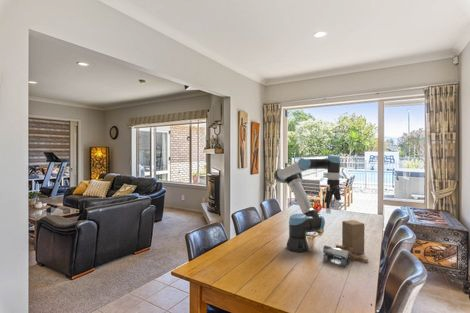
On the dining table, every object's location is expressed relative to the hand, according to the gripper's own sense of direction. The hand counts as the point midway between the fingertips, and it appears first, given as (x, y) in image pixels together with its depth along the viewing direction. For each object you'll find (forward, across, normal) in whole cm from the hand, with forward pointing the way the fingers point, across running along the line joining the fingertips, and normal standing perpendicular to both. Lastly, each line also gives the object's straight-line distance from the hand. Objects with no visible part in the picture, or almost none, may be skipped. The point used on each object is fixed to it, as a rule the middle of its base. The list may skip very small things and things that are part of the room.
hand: (332, 211), depth 172 cm
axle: (+25, -9, -6) cm, 27 cm away
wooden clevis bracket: (+29, +4, -10) cm, 31 cm away
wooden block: (+29, +16, -8) cm, 34 cm away
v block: (+29, -8, -6) cm, 31 cm away
